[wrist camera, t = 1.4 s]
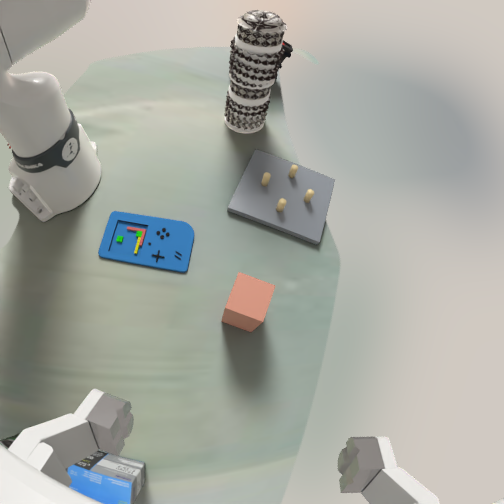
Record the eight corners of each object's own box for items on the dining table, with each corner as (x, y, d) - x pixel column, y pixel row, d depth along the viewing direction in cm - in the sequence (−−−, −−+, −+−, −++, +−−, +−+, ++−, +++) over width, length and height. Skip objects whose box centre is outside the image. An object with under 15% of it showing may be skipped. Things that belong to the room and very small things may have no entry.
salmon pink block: (221, 321, 43) (225, 307, 34) (232, 293, 45) (238, 271, 36) (251, 332, 43) (263, 321, 34) (261, 303, 45) (275, 285, 36)
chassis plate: (227, 210, 50) (228, 199, 46) (254, 153, 55) (257, 140, 52) (317, 245, 50) (324, 235, 46) (332, 183, 55) (339, 171, 52)
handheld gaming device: (186, 271, 44) (96, 255, 43) (186, 273, 45) (98, 257, 44) (196, 222, 47) (111, 209, 46) (196, 225, 48) (113, 212, 47)
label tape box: (146, 462, 33) (125, 491, 22) (145, 484, 31) (125, 518, 20) (90, 447, 32) (55, 467, 21) (90, 469, 31) (56, 494, 19)
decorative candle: (231, 139, 56) (247, 27, 33) (216, 110, 59) (226, 6, 36) (273, 131, 58) (303, 27, 36) (255, 103, 61) (276, 6, 38)
